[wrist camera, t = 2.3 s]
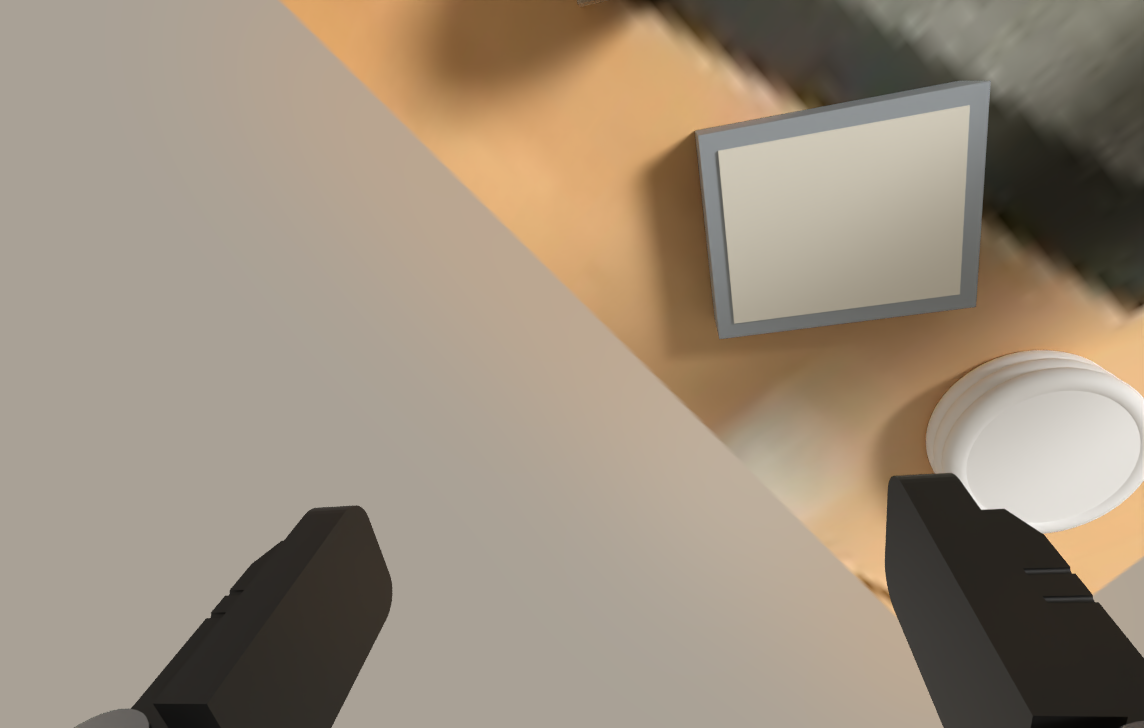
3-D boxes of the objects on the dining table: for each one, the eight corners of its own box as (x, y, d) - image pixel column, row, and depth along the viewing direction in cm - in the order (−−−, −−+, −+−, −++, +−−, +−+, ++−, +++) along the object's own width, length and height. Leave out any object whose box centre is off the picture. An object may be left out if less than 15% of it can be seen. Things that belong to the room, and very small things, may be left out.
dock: (959, 80, 29) (992, 80, 26) (949, 288, 33) (977, 307, 30) (694, 130, 31) (698, 136, 28) (714, 319, 35) (719, 340, 32)
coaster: (884, 445, 37) (905, 479, 34) (1019, 312, 33) (1058, 336, 30) (1015, 527, 38) (1047, 567, 35) (1162, 407, 34) (1213, 441, 31)
